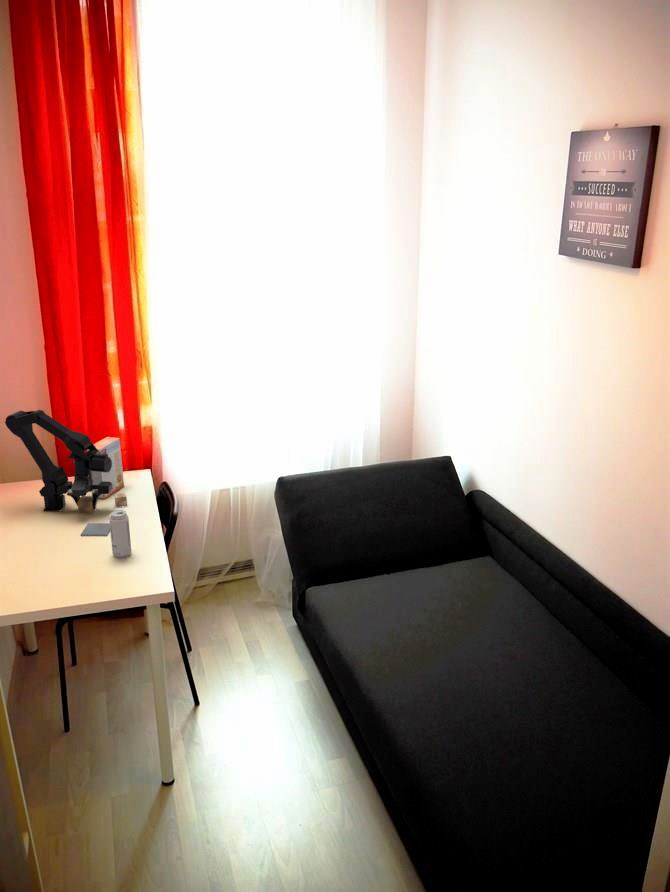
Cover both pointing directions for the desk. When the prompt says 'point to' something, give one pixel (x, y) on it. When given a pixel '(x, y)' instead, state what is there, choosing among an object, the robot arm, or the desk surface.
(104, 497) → the cracker box
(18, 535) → the desk surface
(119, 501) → the oak block
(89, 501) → the walnut cube
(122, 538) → the energy drink can
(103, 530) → the slate coaster
